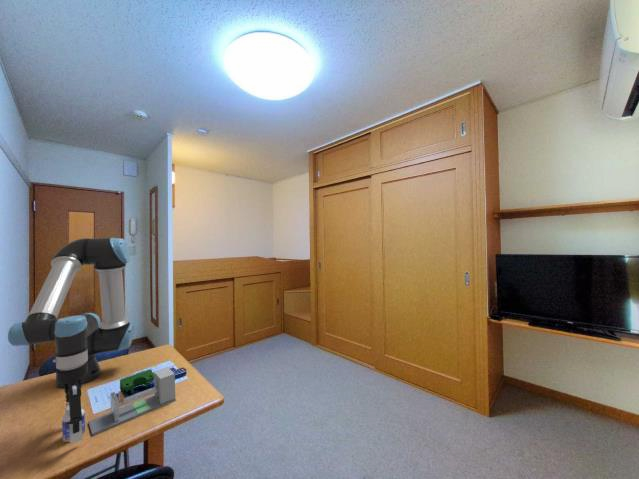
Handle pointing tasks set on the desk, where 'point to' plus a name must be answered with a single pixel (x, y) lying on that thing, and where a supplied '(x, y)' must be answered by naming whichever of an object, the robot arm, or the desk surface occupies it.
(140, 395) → the plunger
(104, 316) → the robot arm
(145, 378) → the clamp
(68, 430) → the pill bottle
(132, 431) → the desk surface
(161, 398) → the base
